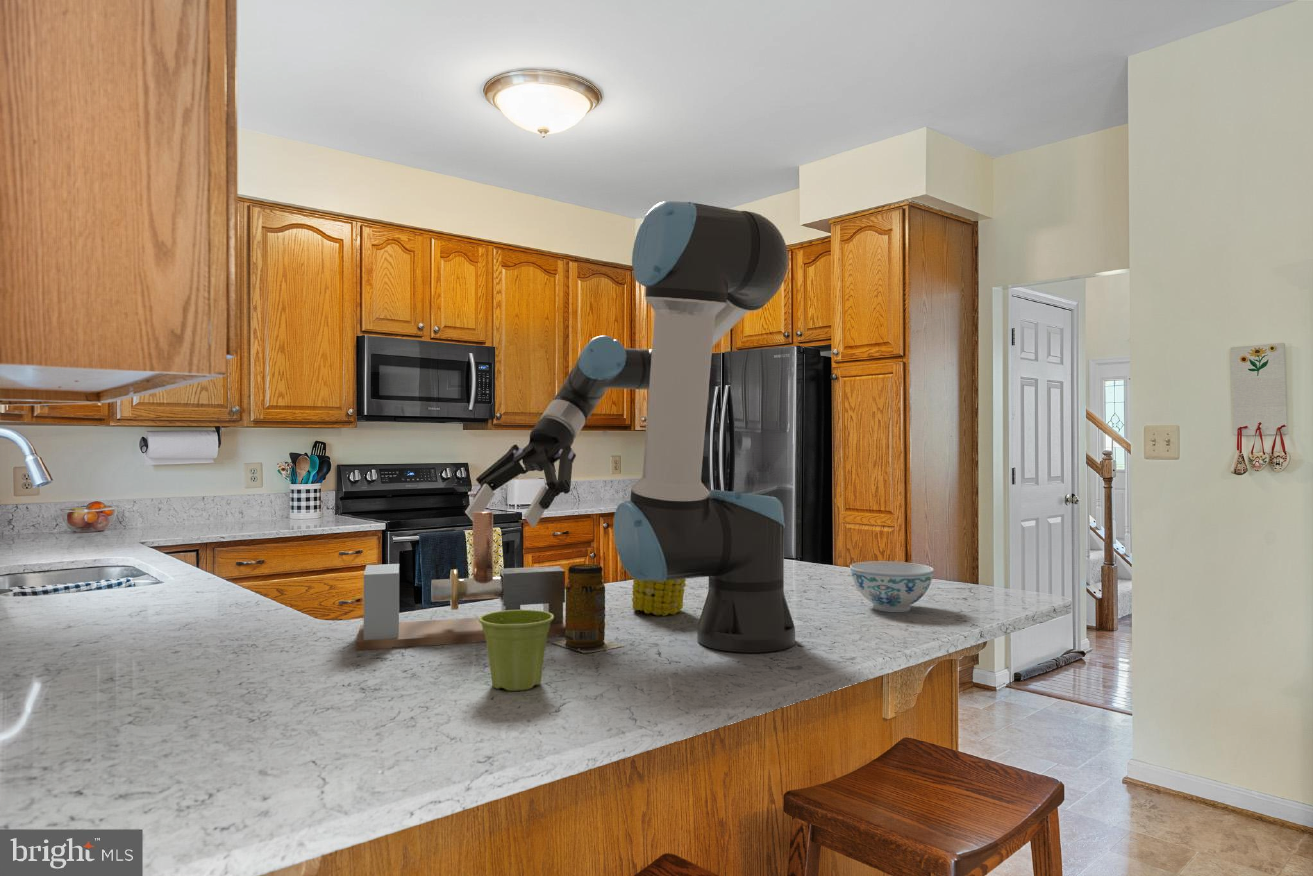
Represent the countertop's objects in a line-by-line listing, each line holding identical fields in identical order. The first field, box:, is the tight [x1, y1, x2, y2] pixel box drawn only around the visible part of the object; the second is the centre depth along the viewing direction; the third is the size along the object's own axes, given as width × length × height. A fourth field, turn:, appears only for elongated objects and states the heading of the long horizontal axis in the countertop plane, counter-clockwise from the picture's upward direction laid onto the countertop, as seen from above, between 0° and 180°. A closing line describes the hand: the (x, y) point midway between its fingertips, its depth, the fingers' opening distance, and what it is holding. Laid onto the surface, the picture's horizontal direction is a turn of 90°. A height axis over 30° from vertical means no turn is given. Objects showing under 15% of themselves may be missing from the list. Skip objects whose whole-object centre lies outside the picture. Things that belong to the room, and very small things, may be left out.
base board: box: [355, 617, 565, 651], centre depth 130 cm, size 32×12×1 cm, turn 107°
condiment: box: [552, 563, 623, 654], centre depth 123 cm, size 7×8×12 cm
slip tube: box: [430, 510, 503, 611], centre depth 132 cm, size 20×6×16 cm, turn 107°
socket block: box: [363, 563, 400, 640], centre depth 126 cm, size 5×10×10 cm, turn 17°
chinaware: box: [849, 560, 935, 613], centre depth 150 cm, size 15×15×8 cm
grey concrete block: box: [499, 565, 566, 624], centre depth 133 cm, size 10×5×9 cm, turn 107°
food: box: [631, 578, 687, 617], centre depth 147 cm, size 15×12×10 cm
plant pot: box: [478, 609, 554, 692], centre depth 103 cm, size 9×9×9 cm
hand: (498, 519), depth 136 cm, fingers open, 13 cm apart
